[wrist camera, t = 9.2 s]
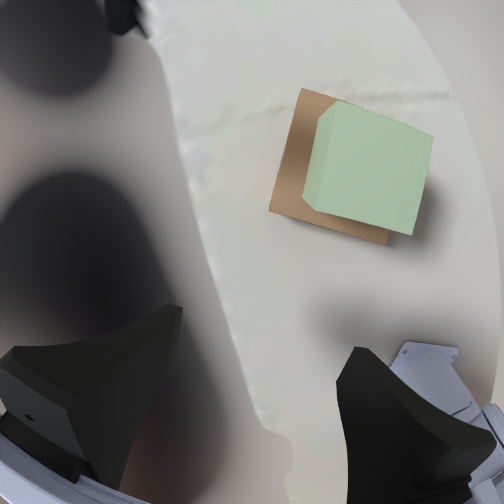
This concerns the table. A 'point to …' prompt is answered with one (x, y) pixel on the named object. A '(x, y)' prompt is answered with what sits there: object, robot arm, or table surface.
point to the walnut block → (296, 168)
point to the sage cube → (367, 168)
